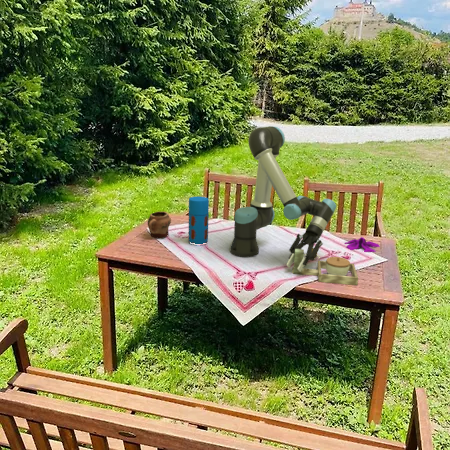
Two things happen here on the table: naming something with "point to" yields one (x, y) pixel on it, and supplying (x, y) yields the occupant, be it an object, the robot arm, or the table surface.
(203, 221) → the thermos
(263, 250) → the table surface
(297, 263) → the pull frame
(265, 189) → the robot arm
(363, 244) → the cloth
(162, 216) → the decorative planter
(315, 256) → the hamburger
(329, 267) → the lidded jar
